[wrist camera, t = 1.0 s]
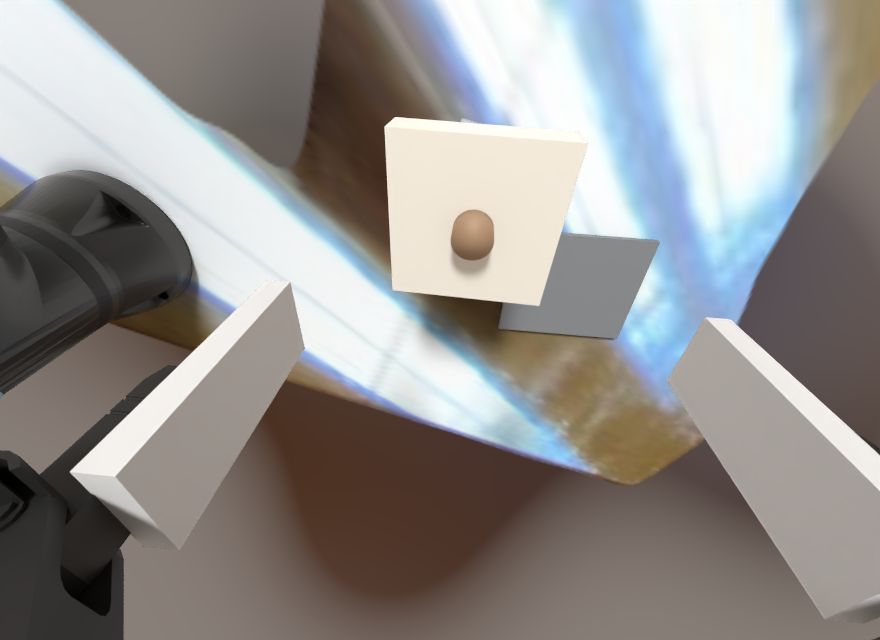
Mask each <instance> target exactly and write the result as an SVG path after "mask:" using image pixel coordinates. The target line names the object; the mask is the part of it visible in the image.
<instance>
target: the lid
mask: <svg viewBox="0 0 880 640" xmlns="http://www.w3.org/2000/svg"><path fill="white" fill-rule="evenodd" d="M587 145H588V143H587V141H586V140H585V139H584V138H583V137H582V136H581V134H580V133H579V132H576V131H563V130H551V129H538V128H525V127H513V126H500V125H488V124H475V123H462V122H450V121H437V120H424V119H412V118H399V117H395V118H394V119H393V120H392V121H390V122H389V123H388V124H387V125H386V126H385V146H386V166H387V186H388V206H389V226H390V246H391V266H392V286H393V290H396V291H405V292H414V293H424V294H433V295H442V296H451V297H461V298H470V299H479V300H488V301H498V302H507V303H516V304H525V305H535V306H539V305H540V302H541V298H542V295H543V292H544V288H545V285H546V282H547V278H548V275H549V272H550V268H551V265H552V262H553V258H554V255H555V252H556V248H557V245H558V242H559V238H560V235H561V232H562V228H563V225H564V222H565V218H566V215H567V212H568V208H569V205H570V202H571V198H572V195H573V192H574V188H575V185H576V182H577V178H578V175H579V172H580V168H581V165H582V161H583V158H584V155H585V151H586V148H587Z"/></svg>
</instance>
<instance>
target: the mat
mask: <svg viewBox="0 0 880 640" xmlns="http://www.w3.org/2000/svg"><path fill="white" fill-rule="evenodd" d="M659 243H660V242H659V241H657V240H648V239H635V238H622V237H610V236H597V235H584V234H571V233H561V235H560V238H559V242H558V245H557V248H556V252H555V255H554V258H553V262H552V265H551V268H550V272H549V275H548V278H547V282H546V285H545V288H544V292H543V295H542V298H541V302H540V305H539V306H535V305H525V304H516V303H507V302H503V304H502V309H501V314H500V319H499V325H498V327H499V329H508V330H520V331H532V332H544V333H556V334H567V335H579V336H591V337H603V338H615V339H617V338H618V335H619V333H620V331H621V329H622V326H623V324H624V322H625V320H626V317H627V315H628V313H629V311H630V308H631V306H632V304H633V302H634V299H635V297H636V295H637V293H638V291H639V288H640V286H641V284H642V282H643V279H644V277H645V275H646V273H647V270H648V268H649V266H650V264H651V261H652V259H653V257H654V255H655V252H656V250H657V248H658V246H659Z"/></svg>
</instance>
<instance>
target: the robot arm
mask: <svg viewBox="0 0 880 640" xmlns="http://www.w3.org/2000/svg"><path fill="white" fill-rule="evenodd" d="M191 273H192V265H191V259H190V255H189V252H188V249H187V246H186V244H185V242H184V240H183V238H182V236H181V235H180V233H179V231H178V230H177V228H176V227H175V226H174V224H173V223H172V222H171V220H170V219H169V218H168V217H167V216H166V215H165V214H164V213H163V212H162V211H161V209H159V208H158V207H157V206H156V205H155V204H154V203H153V202H152V201H151V200H149V199H148V198H147V197H146V196H144V195H143V194H141V193H140V192H139V191H137V190H135V189H134V188H132V187H131V186H129V185H127V184H125V183H123V182H121V181H119V180H117V179H115V178H112V177H110V176H107V175H104V174H101V173H97V172H92V171H84V170H75V171H68V172H63V173H59V174H54V175H50V176H46V177H44V178H41V179H39V180H37V181H35V182H33V183H32V184H31V185H29V186H28V187H27V188H25V189H24V190H23V191H21V192H20V193H19V194H17V195H16V196H15V197H13V198H12V199H11V200H9V201H8V202H7V203H5V204H4V205H3V206H1V207H0V398H1V397H2V396H3V394H5V393H6V392H8V391H9V390H11V389H12V388H14V387H15V386H16V385H18V384H19V383H21V382H22V381H24V380H25V379H27V378H28V377H30V376H31V375H32V374H34V373H35V372H37V371H38V370H40V369H41V368H43V367H44V366H45V365H47V364H48V363H50V362H51V361H53V360H54V359H56V358H57V357H59V356H60V355H61V354H63V353H64V352H66V351H67V350H69V349H70V348H72V347H73V346H75V345H76V344H77V343H79V342H80V341H82V340H83V339H85V338H86V337H88V336H89V335H91V334H92V333H93V332H95V331H96V330H98V329H99V328H101V327H102V326H104V325H105V324H107V323H109V322H111V321H115V320H118V319H122V318H125V317H129V316H132V315H136V314H139V313H142V312H146V311H149V310H153V309H156V308H159V307H161V306H163V305H165V304H167V303H169V302H170V301H172V300H173V299H174V298H176V297H177V296H178V295H180V294H181V293H182V292H183V291H184V290H185V289H186V288H187V286H188V284H189V282H190V279H191ZM304 349H305V348H304V343H303V339H302V334H301V329H300V325H299V320H298V316H297V311H296V306H295V302H294V297H293V293H292V288H291V283H290V282H284V281H272V280H266V281H265V282H264V283H263V284H262V285H261V286H260V287H259V288H258V289H257V290H256V291H255V292H254V293H253V294H252V295H251V296H250V297H249V298H248V299H247V300H246V301H245V302H244V303H243V304H242V305H241V306H240V307H238V308H237V309H236V310H235V311H234V312H233V313H232V314H231V315H230V316H229V317H228V318H227V319H226V320H225V321H224V322H223V323H222V324H221V325H220V326H219V327H218V328H217V329H216V330H215V331H214V332H213V333H212V334H211V335H210V336H209V337H208V338H207V339H206V340H205V341H204V342H203V343H201V344H200V345H199V346H198V347H197V348H196V349H195V350H194V351H193V352H192V353H191V354H190V355H189V356H188V357H187V358H186V359H185V360H184V361H183V362H182V363H181V364H180V365H179V366H167V367H165V368H163V369H162V370H160V371H158V372H156V373H154V374H153V375H151V376H149V377H148V378H146V379H144V380H143V381H142V382H141V383H140V384H139V385H138V386H137V387H136V388H134V389H133V390H132V391H131V392H130V393H129V394H128V395H127V396H126V399H125V400H121V401H120V402H119V403H118V404H117V405H116V406H115V407H114V408H113V409H112V410H110V411H111V412H110V414H106V415H105V416H104V417H103V418H102V419H101V420H99V421H98V422H97V423H96V424H95V425H94V426H93V427H92V428H91V429H89V431H87V432H86V433H85V434H84V435H83V436H82V437H81V438H80V439H79V440H78V441H76V442H75V443H74V444H73V445H72V446H71V447H70V448H69V449H68V450H66V452H64V453H63V454H62V455H61V456H60V457H59V458H58V459H57V460H56V461H54V462H53V463H52V464H51V465H50V466H49V467H48V468H47V469H46V470H45V471H43V472H42V473H41V474H40V475H39V474H38V473H36V471H35V470H34V469H32V468H31V467H30V466H29V465H28V464H27V463H26V462H25V461H24V460H23V459H22V458H20V457H19V456H18V455H16V454H14V453H12V452H10V451H0V640H123V623H124V620H123V619H124V617H123V616H124V610H123V609H124V607H123V605H124V602H123V601H124V599H123V598H124V594H123V593H124V582H123V581H124V578H123V577H124V569H123V568H124V559H123V556H122V552H121V550H120V549H119V548H120V547H121V546H122V544H123V543H124V542H125V540H126V539H127V537H128V536H129V535H130V534H131V535H132V536H133V537H134V538H135V539H136V540H137V541H138V542H139V543H140V544H141V545H142V546H143V547H150V548H160V549H169V550H178V551H179V550H180V548H181V547H182V545H183V543H184V542H185V540H186V539H187V537H188V535H189V534H190V532H191V530H192V529H193V527H194V525H195V524H196V522H197V521H198V519H199V518H200V516H201V514H202V513H203V511H204V510H205V508H206V506H207V505H208V503H209V502H210V500H211V498H212V497H213V495H214V493H215V492H216V490H217V489H218V487H219V485H220V484H221V482H222V481H223V479H224V477H225V476H226V474H227V473H228V471H229V469H230V468H231V466H232V464H233V463H234V461H235V460H236V458H237V456H238V455H239V453H240V451H241V450H242V448H243V447H244V445H245V443H246V442H247V440H248V439H249V437H250V436H251V434H252V432H253V431H254V429H255V427H256V426H257V424H258V423H259V421H260V419H261V418H262V416H263V414H264V413H265V411H266V410H267V408H268V407H269V405H270V403H271V402H272V400H273V398H274V397H275V395H276V393H277V392H278V390H279V389H280V387H281V386H282V384H283V382H284V381H285V379H286V378H287V376H288V374H289V373H290V371H291V369H292V368H293V366H294V365H295V363H296V361H297V360H298V358H299V357H300V355H301V353H302V352H303V350H304ZM667 382H668V384H669V385H670V387H671V388H672V390H673V391H674V393H675V394H676V396H677V397H678V399H679V400H680V402H681V403H682V405H683V406H684V408H685V409H686V411H687V412H688V414H689V415H690V417H691V418H692V420H693V421H694V423H695V424H696V426H697V427H698V429H699V430H700V432H701V433H702V435H703V436H704V438H705V439H706V441H707V442H708V444H709V445H710V447H711V448H712V450H713V451H714V453H715V454H716V456H717V457H718V459H719V460H720V462H721V463H722V465H723V467H724V468H725V470H726V471H727V473H728V474H729V476H730V477H731V479H732V480H733V482H734V483H735V485H736V486H737V488H738V489H739V491H740V492H741V494H742V495H743V497H744V498H745V500H746V501H747V503H748V504H749V506H750V507H751V509H752V510H753V512H754V513H755V515H756V516H757V518H758V519H759V521H760V522H761V524H762V525H763V527H764V528H765V530H766V531H767V533H768V534H769V536H770V537H771V539H772V540H773V542H774V543H775V545H776V547H777V548H778V550H779V551H780V552H781V554H782V555H783V557H784V559H785V560H786V562H787V563H788V565H789V566H790V568H791V569H792V571H793V572H794V574H795V575H796V577H797V578H798V580H799V581H800V583H801V584H802V586H803V587H804V589H805V590H806V592H807V593H808V595H809V596H810V598H811V599H812V601H813V602H814V604H815V605H816V607H817V608H818V610H819V611H820V613H821V614H822V616H823V617H824V619H828V620H837V621H847V622H856V623H866V622H869V621H871V620H874V619H876V618H878V617H880V448H878V447H877V446H876V445H874V444H873V443H871V442H870V441H868V440H867V439H865V438H863V437H862V436H861V435H859V434H857V433H856V432H854V431H853V430H851V429H850V428H849V427H848V426H847V425H846V424H845V423H844V422H843V421H842V420H840V419H839V418H838V417H837V416H836V415H835V414H834V413H833V412H831V410H829V409H828V408H827V407H826V406H825V405H824V404H823V403H822V402H820V401H819V400H818V399H817V398H816V397H815V396H814V395H813V394H812V393H811V392H809V391H808V390H807V389H806V388H805V387H804V386H803V385H802V384H801V383H800V382H798V381H797V380H796V379H795V378H794V377H793V376H792V375H791V374H790V373H788V372H787V371H786V370H785V369H784V368H783V367H782V366H781V365H780V364H779V363H778V362H776V361H775V360H774V359H773V358H772V357H771V356H770V355H769V354H768V353H767V352H765V351H764V350H763V349H762V348H761V347H760V346H759V345H758V344H757V343H756V342H754V341H753V340H752V339H751V338H750V337H749V336H748V335H747V334H746V333H744V332H743V331H742V330H741V329H740V328H739V327H738V326H737V325H736V324H735V323H733V322H732V321H731V320H730V319H718V318H706V317H705V319H704V320H703V322H702V324H701V325H700V327H699V329H698V330H697V332H696V334H695V335H694V337H693V338H692V340H691V342H690V343H689V345H688V347H687V348H686V350H685V352H684V353H683V355H682V357H681V358H680V360H679V362H678V363H677V365H676V367H675V368H674V370H673V372H672V373H671V375H670V377H669V378H668V380H667ZM873 640H880V637H878V638H876V639H873Z"/></svg>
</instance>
